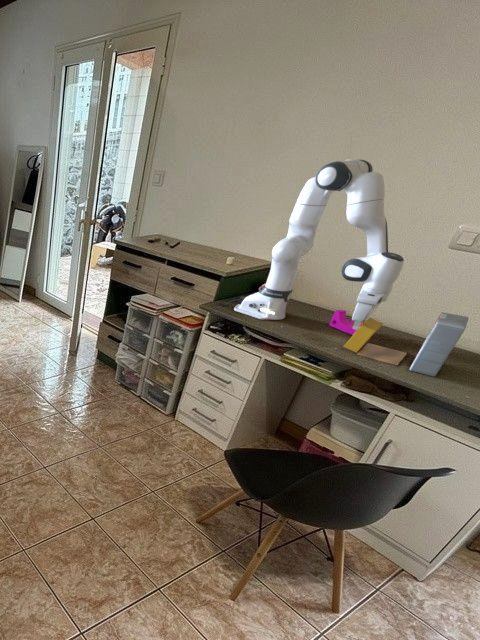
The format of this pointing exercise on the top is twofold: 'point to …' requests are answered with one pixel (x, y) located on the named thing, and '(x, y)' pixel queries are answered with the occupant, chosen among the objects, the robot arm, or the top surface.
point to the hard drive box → (439, 343)
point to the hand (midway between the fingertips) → (358, 325)
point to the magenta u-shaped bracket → (342, 322)
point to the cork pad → (382, 354)
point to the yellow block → (363, 335)
